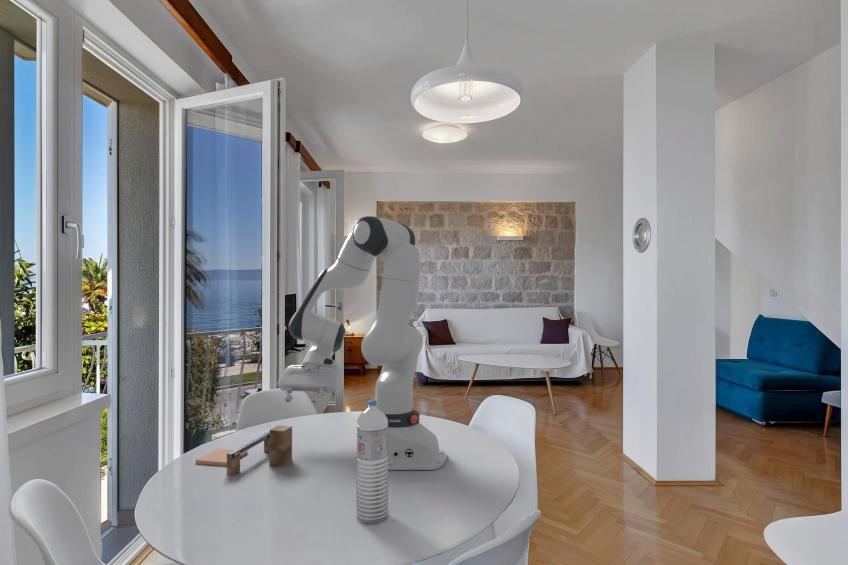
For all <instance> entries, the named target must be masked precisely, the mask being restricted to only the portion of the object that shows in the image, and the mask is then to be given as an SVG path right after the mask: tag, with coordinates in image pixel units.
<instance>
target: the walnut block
mask: <svg viewBox="0 0 848 565" xmlns="http://www.w3.org/2000/svg"><path fill="white" fill-rule="evenodd" d="M269 431H270V452H269V462H268V463H269V466H271V467H281V468H283V467H284V468H285V467H286V466H287V465H289V464H290V463H292V462H293V426H291V425H276V426H274V427H273V428H270V429H269ZM288 463H289V464H288Z"/></svg>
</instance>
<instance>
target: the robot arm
mask: <svg viewBox="0 0 848 565" xmlns="http://www.w3.org/2000/svg"><path fill="white" fill-rule="evenodd" d="M415 245H416V235H415V233H414V231H413V230H412V228H410V227H408V226H407V225H405V224H404V223H399V222H396V221H393V220H391V219H389V218H383V217H376V216H373V215H372V216H370V215H369V216H368V215H367V216H363V217H360V218H359V219H358V220H356V222H355V223H354V225H353V228H352V231H351V232H350V233H349V234H348V236H347V238H346V239H345V241H344V243H343V246H342V247H341V249H340V251H339V255H338V256H337V259H336V261H335V262H334V264H332V265H331V266H330V267H329V268H324V269H323V270H322V271H321V272H320V273H319V275H318V277H317V278H316V279H315V281H314V283H313V284H312V286H311V288H310V289H309V291H308V292H307V294H306V296H305V298H303V301H302V303H301V304H300V307H299V308H298V309H297V310H296V312H294V314H293V315H292V317H291V318H290V321H289V323H288V328H287V329H288V332H289V334H290V335H291V336H292V338H293V339H295V340H298V341H299V340H300V341H305V342H307V343H309V349H308V350H307V352H306V353H305V356H304V358H303V361H302V362H301V364H299V365H298V364H296V365H295V364H292V365H289V366H287V367H285V369H284V371H283V372H282V374H281V375H280V377H279V379H278V380H277V385H278V387H279V389H280V390H281V391H283V392H285V394H286V395H285V398H284V401H285V402H286V403H292V400H293V396H292V395H291V394H293V392H303V393H304V392H306V393H317V394H316V395H313V398H312V399H311V400H312V402H313V404H316V405H317V404H319V403H320V401H321V399H323V398H324V397H325V395H326V393H329V394H330V393H332V394H335V393H336V392H337V391H338V390H339V388H340V384H341V374H342V370H341V367H340V365H339V363H338V362H337V360H335V359H332V357H333V355H334V354H335V353H337V352H338V351H340V349H341V347H342V343H343V340H344V339H345V336H346V333H347V331H346V328H345V326H344V324H343V322H341V321H338V320H335V319H332V318H328V317H325V316H323V315H321V314H317V313H315V312H314V311H313V309H314V308H315V306H316V304H317V302H318V300H319V299H320V297H321V296H322V294H323V293H325V292H327V291H336V290H337V291H338V290H340V291H343V290H345V291H346V290H353V289H356V288H358V287H361V286H362V285H363V284H364V283H365V282H366V279H367V278H368V275H369V274H370V271H371V269H372V266H373V263H374V261H375V258H376V257H377V256H380V257H381V259H382V261H383V271H382V280H381V287H380V288H381V289H380V295H379V296H380V297H379V301H378V302H379V303H378V307H377V309H376V310H377V311H376V313H375V316H374V318H373V321H372V324H371V326H370V328H369V330H368V332H367V333H366V334H365V335H364V337H363V338H362V340H361V344H360V348H361V349H360V350H361V354H362V356H363V358H364V360H365V361H367V363H369V364H371V365H374V366H380V367H381V366H382V368H381V370H380V374H379V376H378V378H377V379H376V381H375V394H374V395H375V396H374V398H375V399H374V400H376V401H377V403H376V404H377V405H376V407H377V408H378V409H380V410H381V411H382V412H383V413H384V414H385V416H386V417H387V419H388V427H387V432H388V471H435V470H438V469H440V468H441V467H443V466H444V465H445V464H446V462H447V460H448V458H447V452H446V451H445V450H442V449H440V448H439V447H440V446H439V441H438V438H437V436H436V434H435V433H433V432H432V431H431V430H429V429H428V428H427V427H426V426H424V424H422V423H421V422H420V415H421V414H420V411H419V410H418V411H417V410H416V409H414V408H413V407H414V404H413V403H414V402H413V401H414V400H413V397H414V393H413V392H414V390H413V389H414V388H413V387H414V386H413V385H414V379H415V373H416V368H417V362H418V358H419V354H420V352H421V351H422V349H423V345H424V338H423V335H422V332H420V331H419V329H418V328H416V327H414V326H411V325H409V323H410V321H411V318H412V316H413V313H414V312H415V311H416V309H417V306H418V296H419V287H420V278H421V257H420V255H421V254H420V252H419V249H418V247H417V246H415Z"/></svg>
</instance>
